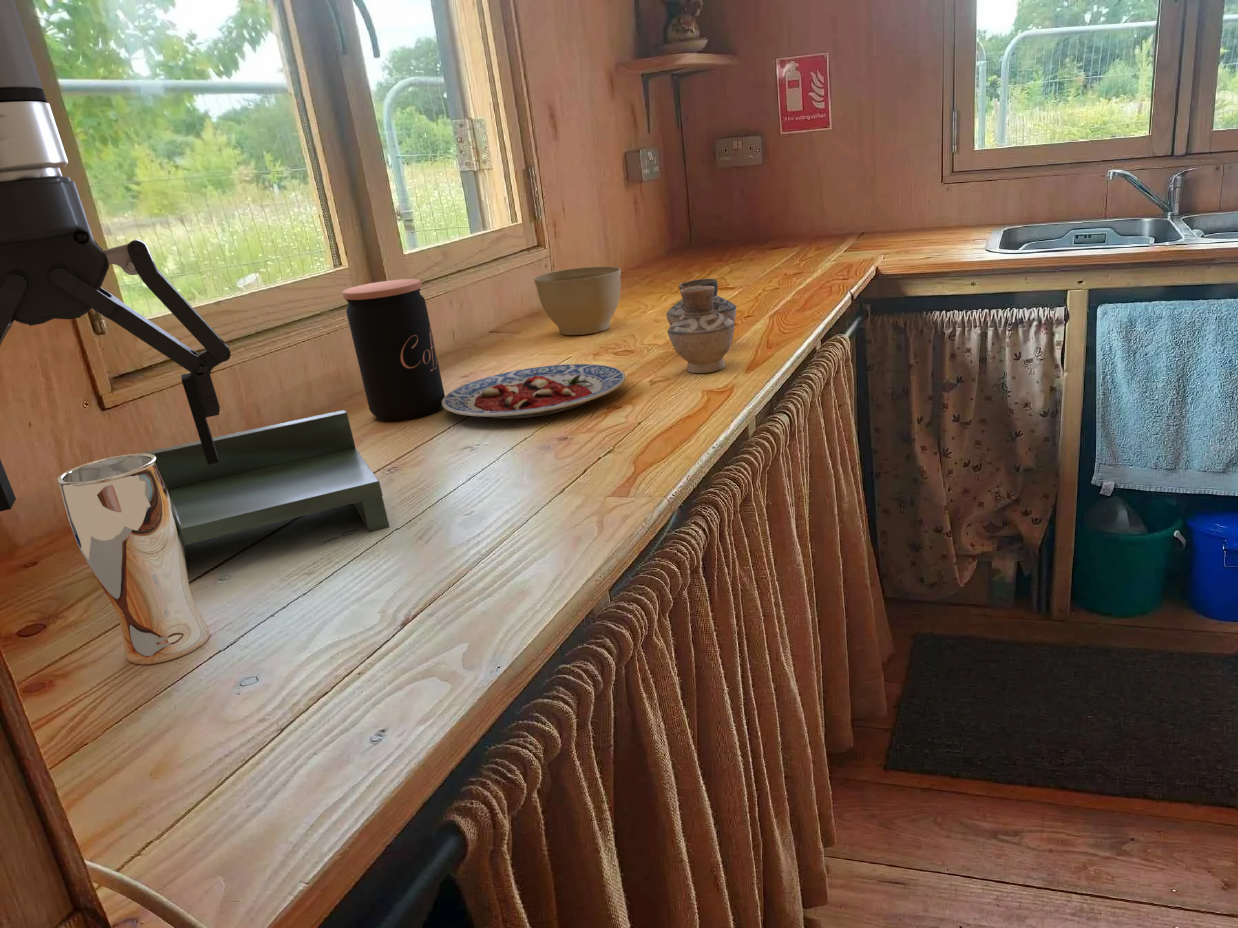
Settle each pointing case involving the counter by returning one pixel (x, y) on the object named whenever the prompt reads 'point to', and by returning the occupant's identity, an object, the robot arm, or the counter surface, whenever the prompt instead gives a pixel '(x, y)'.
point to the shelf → (270, 477)
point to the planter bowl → (580, 298)
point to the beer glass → (135, 553)
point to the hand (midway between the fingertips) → (114, 482)
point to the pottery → (701, 325)
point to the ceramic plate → (533, 391)
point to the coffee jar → (395, 349)
